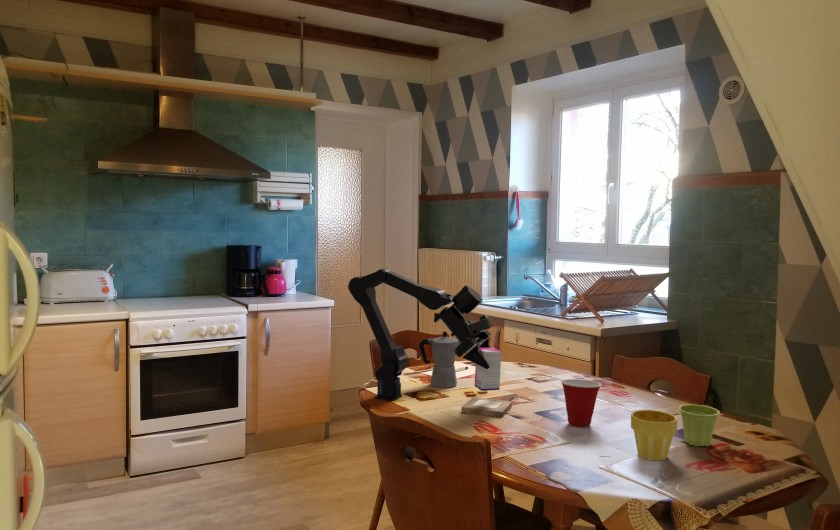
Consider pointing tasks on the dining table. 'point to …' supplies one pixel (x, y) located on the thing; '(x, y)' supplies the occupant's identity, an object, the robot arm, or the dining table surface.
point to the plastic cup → (580, 400)
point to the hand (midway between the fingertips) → (492, 365)
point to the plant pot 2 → (698, 424)
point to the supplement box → (489, 370)
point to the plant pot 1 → (653, 433)
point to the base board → (487, 406)
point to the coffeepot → (442, 360)
